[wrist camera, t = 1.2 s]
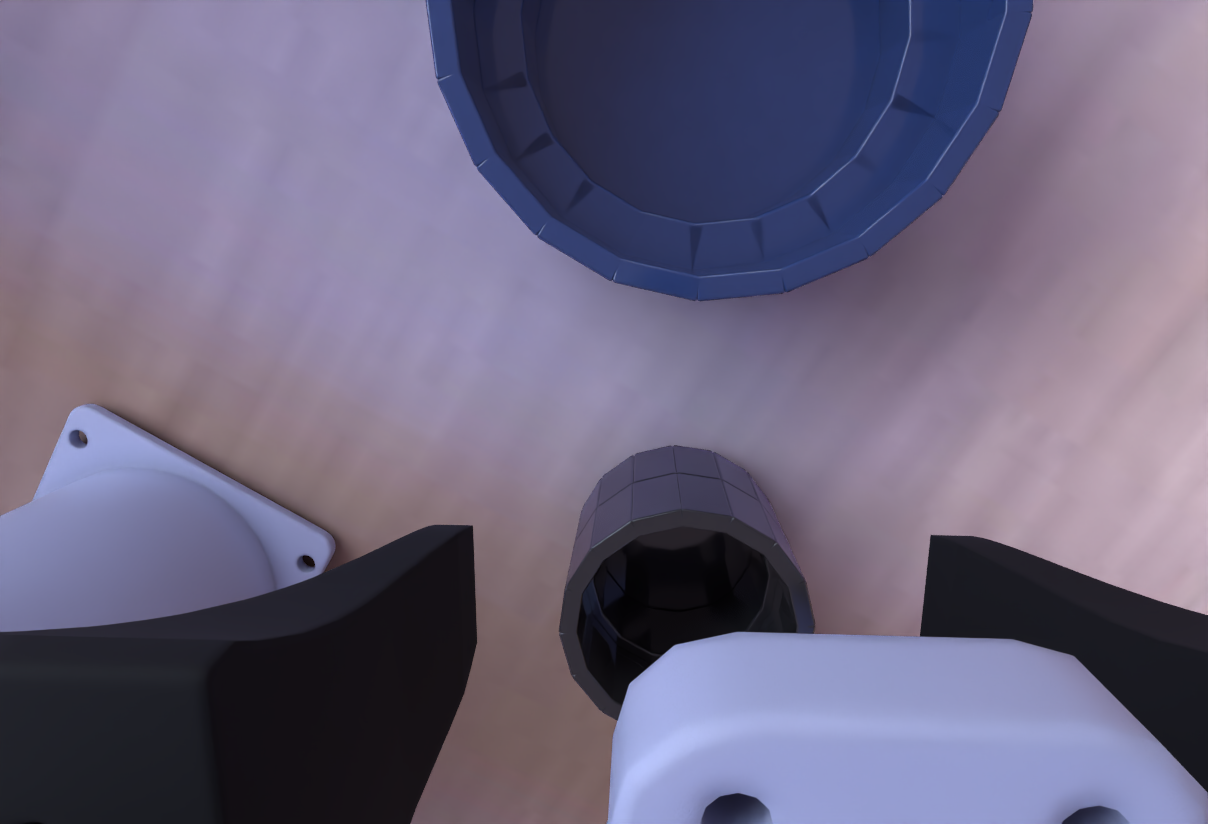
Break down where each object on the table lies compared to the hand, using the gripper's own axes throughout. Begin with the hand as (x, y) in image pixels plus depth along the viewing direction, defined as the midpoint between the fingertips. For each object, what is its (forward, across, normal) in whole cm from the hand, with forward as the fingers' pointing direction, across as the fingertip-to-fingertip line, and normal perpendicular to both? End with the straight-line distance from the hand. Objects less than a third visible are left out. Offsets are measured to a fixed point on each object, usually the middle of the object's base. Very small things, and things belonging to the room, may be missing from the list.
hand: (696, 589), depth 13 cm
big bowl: (+9, 0, -10) cm, 13 cm away
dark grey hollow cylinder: (+9, 0, +3) cm, 10 cm away
